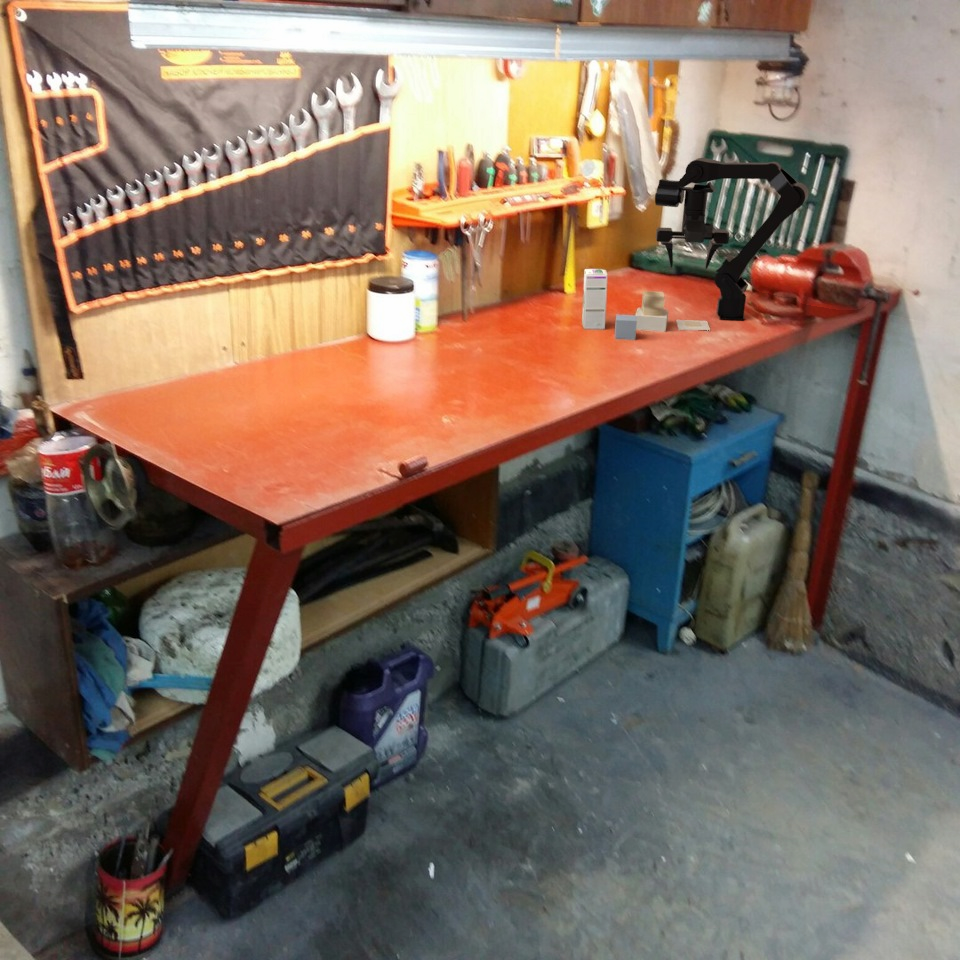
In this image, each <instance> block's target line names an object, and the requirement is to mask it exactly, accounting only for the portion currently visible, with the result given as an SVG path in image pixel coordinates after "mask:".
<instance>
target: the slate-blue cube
mask: <svg viewBox="0 0 960 960" xmlns="http://www.w3.org/2000/svg"><path fill="white" fill-rule="evenodd" d="M614 325H615V327H614V340H621V339H623V340H626V341H629V340H630V341H636V337H637V336H636V335H637V330H636V325H637V319H636V315H635V314H634V315H633V314H615V324H614ZM623 340H622V341H623Z"/></svg>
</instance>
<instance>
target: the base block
mask: <svg viewBox="0 0 960 960" xmlns="http://www.w3.org/2000/svg"><path fill="white" fill-rule="evenodd" d="M634 315H636V319H637V325H636V331H649V332H650V331H651V332H659V333H661V332H662V333H663V332H665V333H666V330H667V326H668V317H669V309H665V308H664V311H663V316H644V315H643V313H642V307H637V310H636V312H635V314H634Z"/></svg>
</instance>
